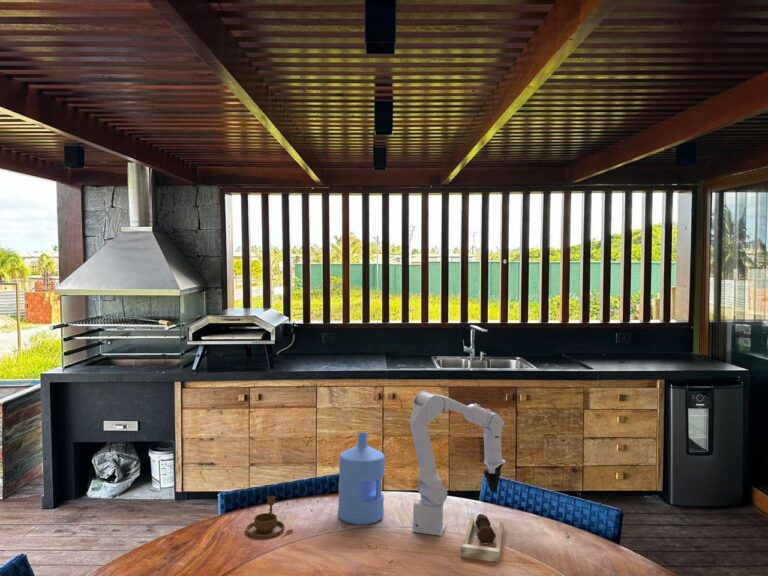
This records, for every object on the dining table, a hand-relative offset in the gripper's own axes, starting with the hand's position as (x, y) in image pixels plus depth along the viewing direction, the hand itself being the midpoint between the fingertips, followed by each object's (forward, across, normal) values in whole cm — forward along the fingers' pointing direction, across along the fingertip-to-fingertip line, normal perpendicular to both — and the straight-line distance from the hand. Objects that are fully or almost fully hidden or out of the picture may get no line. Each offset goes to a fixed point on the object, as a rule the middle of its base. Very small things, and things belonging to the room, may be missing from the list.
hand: (494, 487), depth 185 cm
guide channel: (+10, -19, +2) cm, 22 cm away
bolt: (+11, -13, +3) cm, 17 cm away
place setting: (+7, -29, +69) cm, 75 cm away
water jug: (+8, -13, +44) cm, 47 cm away
